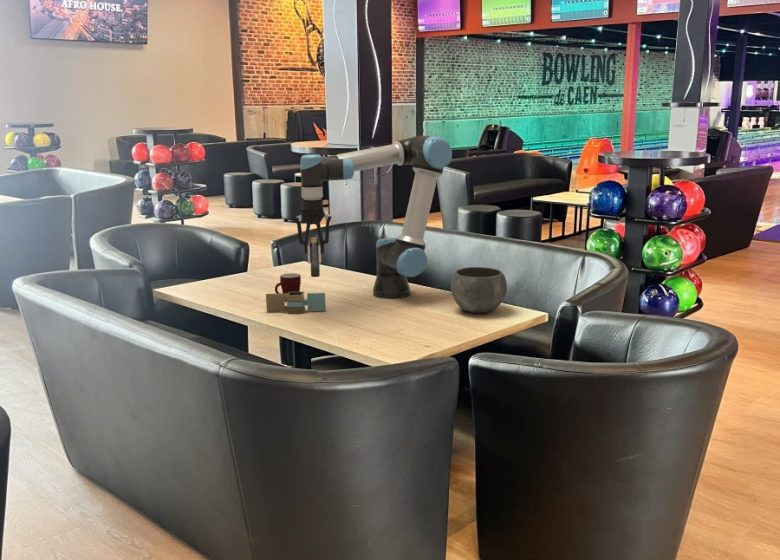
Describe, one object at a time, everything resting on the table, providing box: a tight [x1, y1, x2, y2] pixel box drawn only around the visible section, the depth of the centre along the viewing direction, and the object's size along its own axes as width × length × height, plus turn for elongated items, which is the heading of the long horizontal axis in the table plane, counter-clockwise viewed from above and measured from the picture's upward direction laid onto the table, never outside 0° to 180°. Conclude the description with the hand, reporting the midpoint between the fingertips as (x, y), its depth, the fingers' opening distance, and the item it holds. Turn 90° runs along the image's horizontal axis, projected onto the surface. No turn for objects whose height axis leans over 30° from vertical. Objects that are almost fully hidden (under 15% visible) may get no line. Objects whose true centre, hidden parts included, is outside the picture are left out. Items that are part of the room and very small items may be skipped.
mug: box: [274, 272, 302, 294], centre depth 307 cm, size 10×8×10 cm
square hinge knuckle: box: [265, 291, 306, 315], centre depth 290 cm, size 14×6×7 cm, turn 90°
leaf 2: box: [286, 292, 327, 312], centre depth 290 cm, size 14×6×7 cm, turn 90°
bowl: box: [450, 266, 508, 314], centre depth 286 cm, size 20×20×15 cm
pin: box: [309, 237, 321, 278], centre depth 282 cm, size 3×3×14 cm
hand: (314, 262), depth 282 cm, fingers closed on pin, 3 cm apart
